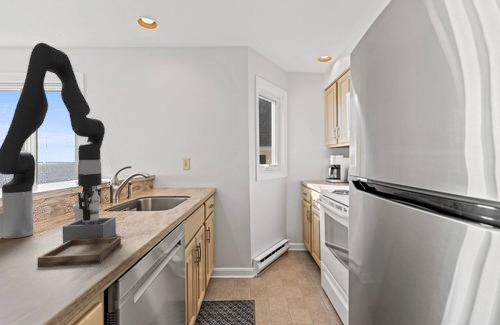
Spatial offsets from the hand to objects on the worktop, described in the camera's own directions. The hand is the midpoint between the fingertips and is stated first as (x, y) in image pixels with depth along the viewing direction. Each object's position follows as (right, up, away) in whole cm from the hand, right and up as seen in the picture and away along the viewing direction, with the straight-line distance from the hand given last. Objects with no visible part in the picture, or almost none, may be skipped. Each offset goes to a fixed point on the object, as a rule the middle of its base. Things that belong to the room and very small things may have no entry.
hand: (90, 218), depth 104 cm
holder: (0, -8, 0) cm, 8 cm away
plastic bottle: (0, -8, 0) cm, 8 cm away
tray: (+7, -8, -17) cm, 20 cm away
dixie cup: (-15, -8, +21) cm, 27 cm away
